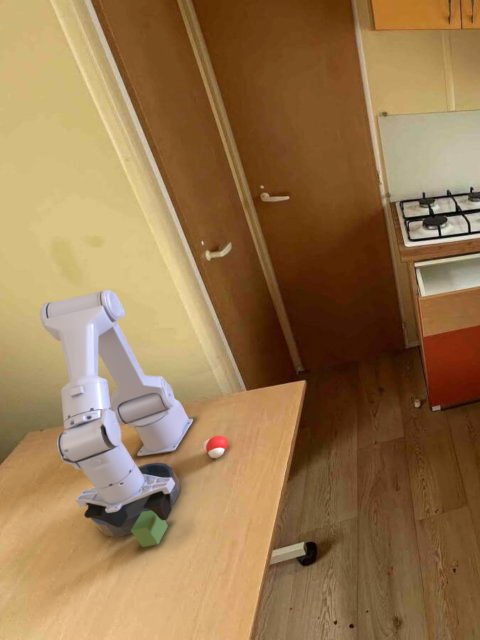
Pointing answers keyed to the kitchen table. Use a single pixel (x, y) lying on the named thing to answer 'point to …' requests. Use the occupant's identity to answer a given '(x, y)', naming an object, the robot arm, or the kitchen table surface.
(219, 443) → the molecule
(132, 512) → the bowl
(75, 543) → the kitchen table surface
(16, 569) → the kitchen table surface
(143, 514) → the green block
